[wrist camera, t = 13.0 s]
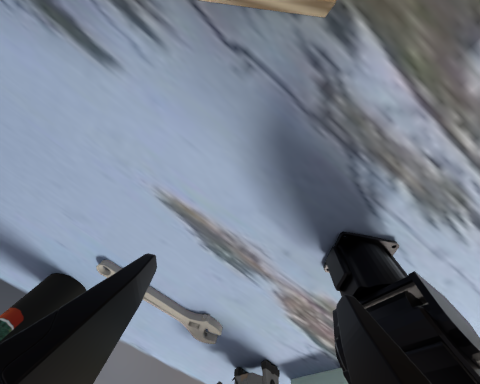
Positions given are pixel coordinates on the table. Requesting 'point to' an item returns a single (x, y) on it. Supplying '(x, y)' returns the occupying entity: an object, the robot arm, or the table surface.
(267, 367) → the figurine
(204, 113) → the table surface
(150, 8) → the table surface
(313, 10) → the bore block
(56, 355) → the robot arm
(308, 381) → the right angle wall
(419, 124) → the table surface
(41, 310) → the wine bottle
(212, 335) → the adjustable wrench
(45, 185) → the table surface
